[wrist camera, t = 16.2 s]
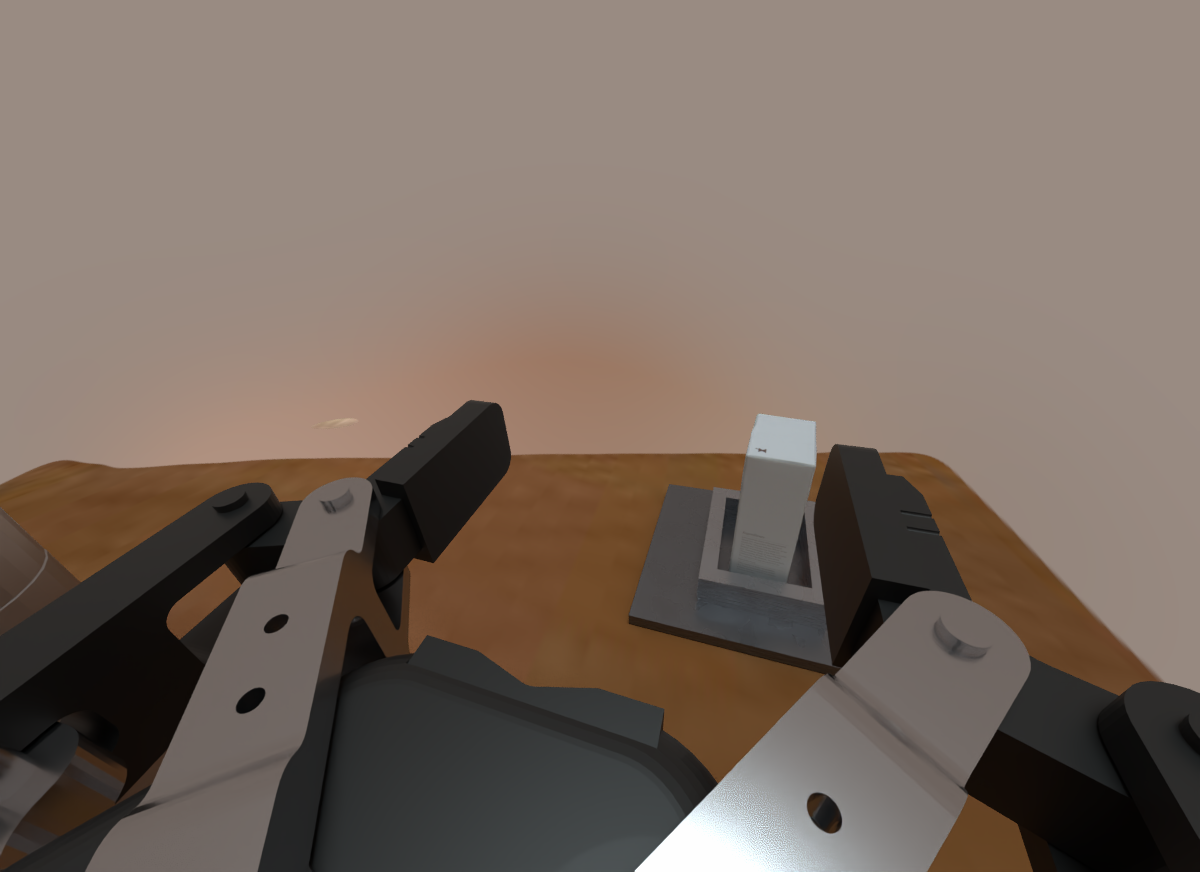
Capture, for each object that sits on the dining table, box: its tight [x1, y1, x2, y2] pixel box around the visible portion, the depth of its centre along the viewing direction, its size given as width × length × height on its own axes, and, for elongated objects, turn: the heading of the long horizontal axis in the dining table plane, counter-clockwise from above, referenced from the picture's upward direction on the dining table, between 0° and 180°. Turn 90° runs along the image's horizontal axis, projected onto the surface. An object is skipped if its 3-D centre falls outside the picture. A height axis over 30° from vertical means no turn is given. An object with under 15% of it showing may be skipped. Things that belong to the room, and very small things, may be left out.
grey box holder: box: [629, 484, 841, 676], centre depth 34 cm, size 18×16×4 cm
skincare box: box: [729, 414, 817, 583], centre depth 32 cm, size 6×4×12 cm
